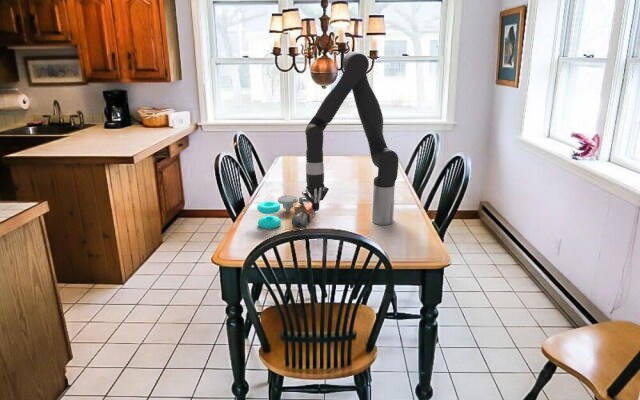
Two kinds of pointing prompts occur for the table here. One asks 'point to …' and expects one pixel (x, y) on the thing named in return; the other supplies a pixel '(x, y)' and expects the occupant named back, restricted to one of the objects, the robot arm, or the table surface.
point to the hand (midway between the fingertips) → (315, 210)
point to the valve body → (301, 216)
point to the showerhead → (287, 201)
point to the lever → (306, 205)
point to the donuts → (269, 208)
